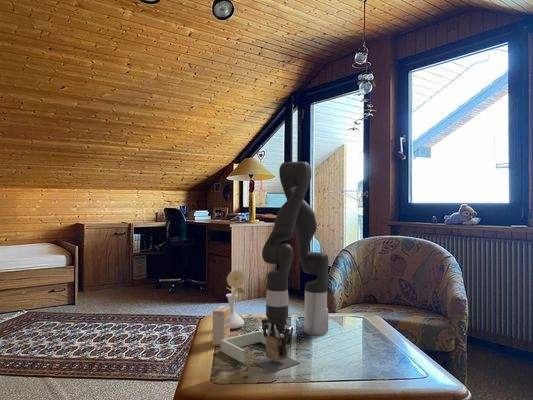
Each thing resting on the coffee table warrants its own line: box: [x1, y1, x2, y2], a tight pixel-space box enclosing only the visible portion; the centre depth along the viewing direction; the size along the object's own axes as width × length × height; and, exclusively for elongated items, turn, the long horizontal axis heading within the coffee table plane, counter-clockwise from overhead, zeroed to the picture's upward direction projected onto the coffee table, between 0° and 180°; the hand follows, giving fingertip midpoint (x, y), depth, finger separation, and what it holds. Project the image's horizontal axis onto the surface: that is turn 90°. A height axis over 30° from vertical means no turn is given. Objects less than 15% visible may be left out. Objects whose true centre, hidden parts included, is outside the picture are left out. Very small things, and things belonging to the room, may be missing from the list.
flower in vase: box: [225, 269, 247, 330], centre depth 172 cm, size 13×11×25 cm
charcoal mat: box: [253, 356, 301, 374], centre depth 134 cm, size 12×10×1 cm
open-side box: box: [220, 330, 266, 364], centre depth 144 cm, size 18×14×4 cm
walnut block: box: [265, 334, 288, 361], centre depth 134 cm, size 5×5×7 cm
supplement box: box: [211, 305, 231, 347], centre depth 153 cm, size 8×5×13 cm, turn 168°
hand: (276, 353), depth 134 cm, fingers closed on walnut block, 5 cm apart
